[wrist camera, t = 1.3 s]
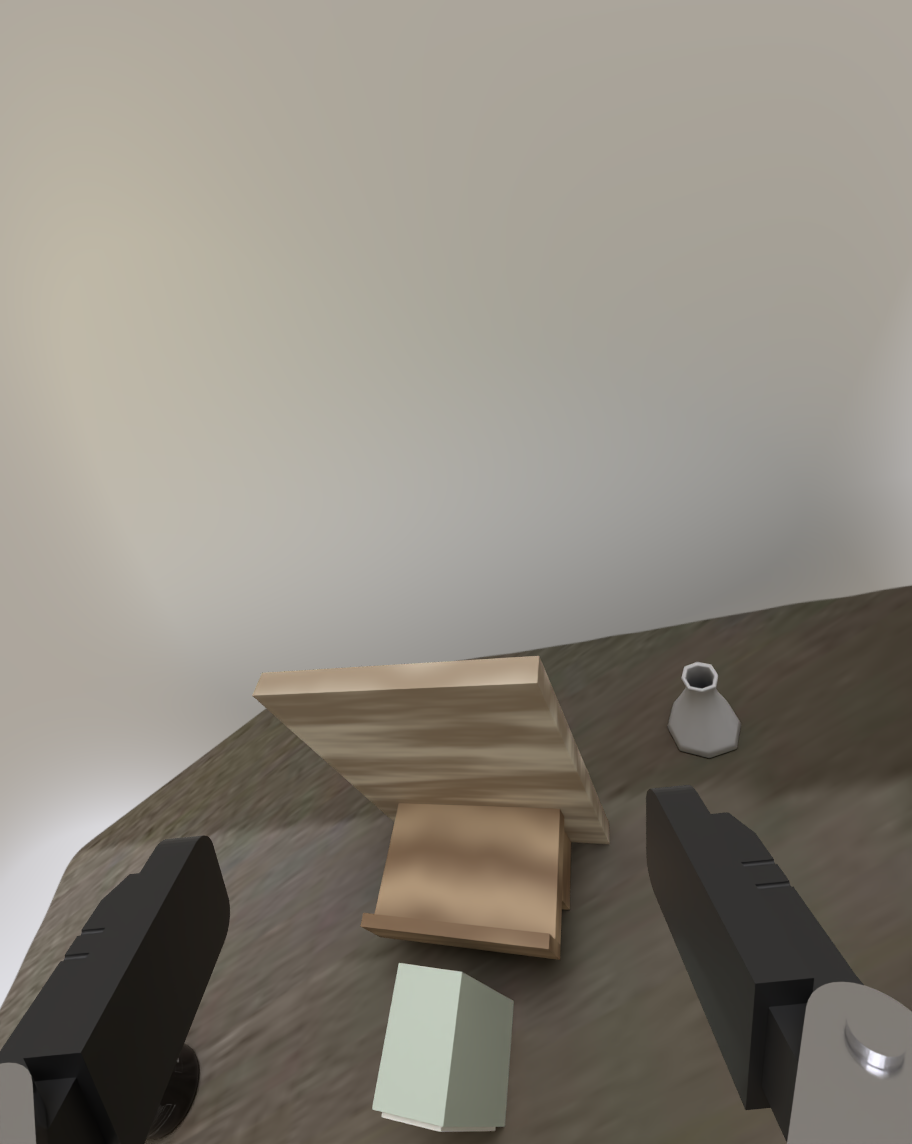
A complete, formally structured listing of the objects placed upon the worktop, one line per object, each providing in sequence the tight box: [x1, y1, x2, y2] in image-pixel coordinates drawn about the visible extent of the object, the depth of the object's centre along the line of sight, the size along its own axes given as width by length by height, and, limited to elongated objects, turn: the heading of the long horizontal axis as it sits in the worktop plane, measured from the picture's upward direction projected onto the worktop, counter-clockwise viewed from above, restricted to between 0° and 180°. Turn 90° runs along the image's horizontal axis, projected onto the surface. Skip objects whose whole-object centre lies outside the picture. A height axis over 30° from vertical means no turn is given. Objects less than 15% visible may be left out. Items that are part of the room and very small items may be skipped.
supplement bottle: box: [146, 1044, 199, 1139], centre depth 50 cm, size 7×7×12 cm
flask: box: [667, 662, 741, 758], centre depth 57 cm, size 7×7×10 cm
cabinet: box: [372, 963, 514, 1132], centre depth 43 cm, size 8×5×14 cm, turn 171°
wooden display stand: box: [252, 656, 610, 960], centre depth 48 cm, size 18×22×30 cm
